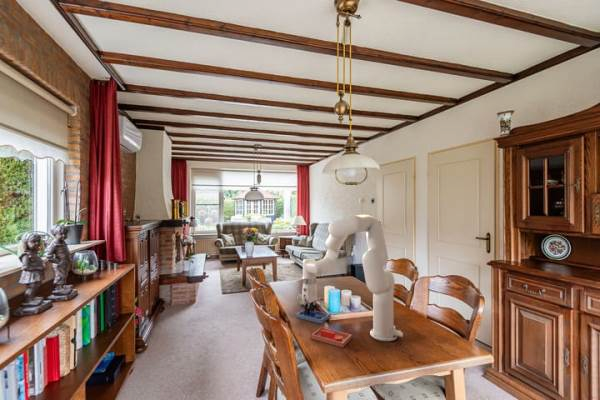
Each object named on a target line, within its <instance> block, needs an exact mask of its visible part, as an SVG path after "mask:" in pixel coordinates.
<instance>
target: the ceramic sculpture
mask: <svg viewBox="0 0 600 400" xmlns="http://www.w3.org/2000/svg"><path fill="white" fill-rule="evenodd" d="M296 296H297V297H296V299H297V301H298V304H299V305H300V306H303V305H302V302H303V301H302V294H300V293H297V294H296ZM315 301H318V300H317V299H316V300H315ZM306 302H307V301H306ZM315 303H316V302H315ZM306 304H307V305H308V303H306Z"/></svg>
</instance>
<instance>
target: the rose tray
mask: <svg viewBox="0 0 600 400" xmlns="http://www.w3.org/2000/svg"><path fill="white" fill-rule="evenodd" d="M322 329H323V330H327V331H331V332H335V335H340V336H342V341H340V342H339V341H335V340H334V339H331V338H327V337H323V336H321V330H322ZM310 335H311V338H310V339H311V340H314V341H318V342H322V343H326V344H329V345H332V346H335V347H339V348H345V346H347V345H348V343H349V342H351V340H352V339H353V335H352V333H351V334H350V333H348V332H347V333H346V332H343V331H340V330H335V329H331V328H327V327H323V326H321V327H319V328H318V329H317V330H315V331H314V332H312V334H310Z"/></svg>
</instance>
